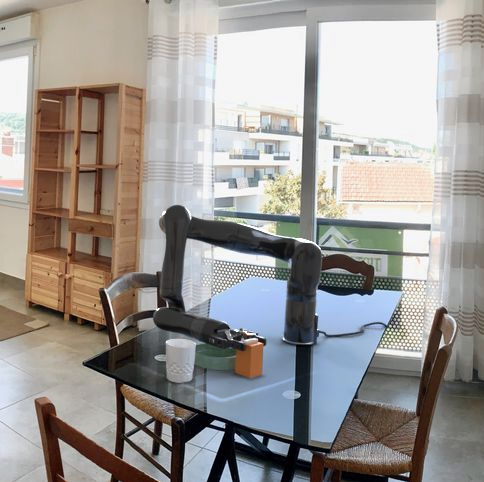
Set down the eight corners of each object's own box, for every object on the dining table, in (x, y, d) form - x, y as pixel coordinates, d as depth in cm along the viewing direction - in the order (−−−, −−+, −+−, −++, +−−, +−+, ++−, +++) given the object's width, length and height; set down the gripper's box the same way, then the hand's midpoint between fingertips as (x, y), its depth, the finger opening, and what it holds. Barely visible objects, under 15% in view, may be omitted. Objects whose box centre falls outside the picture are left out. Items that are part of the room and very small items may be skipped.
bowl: (231, 355, 186) (231, 342, 186) (249, 371, 172) (250, 357, 171) (184, 355, 185) (184, 343, 185) (198, 372, 171) (198, 358, 170)
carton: (247, 370, 172) (248, 336, 171) (262, 376, 168) (263, 340, 167) (235, 374, 170) (236, 338, 168) (249, 379, 166) (251, 343, 164)
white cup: (161, 374, 169) (162, 338, 168) (189, 373, 170) (190, 338, 169) (169, 384, 161) (170, 347, 160) (198, 383, 162) (199, 347, 161)
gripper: (192, 321, 175) (238, 335, 162) (226, 315, 183) (273, 327, 170) (191, 347, 176) (237, 363, 163) (225, 339, 184) (271, 353, 171)
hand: (255, 344), depth 167 cm, fingers open, 8 cm apart
